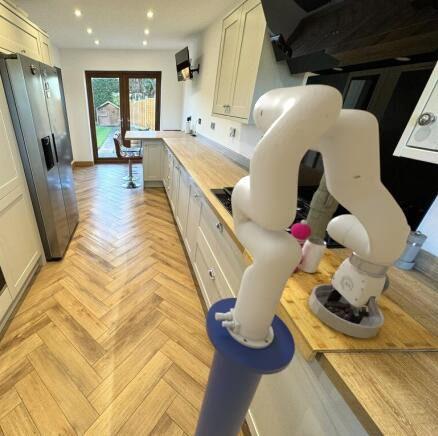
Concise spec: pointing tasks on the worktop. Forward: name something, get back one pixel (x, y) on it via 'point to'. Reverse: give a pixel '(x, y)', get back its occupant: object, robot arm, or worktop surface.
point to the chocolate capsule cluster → (335, 309)
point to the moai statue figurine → (321, 210)
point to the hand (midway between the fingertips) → (341, 312)
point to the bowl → (362, 330)
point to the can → (312, 254)
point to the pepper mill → (300, 234)
